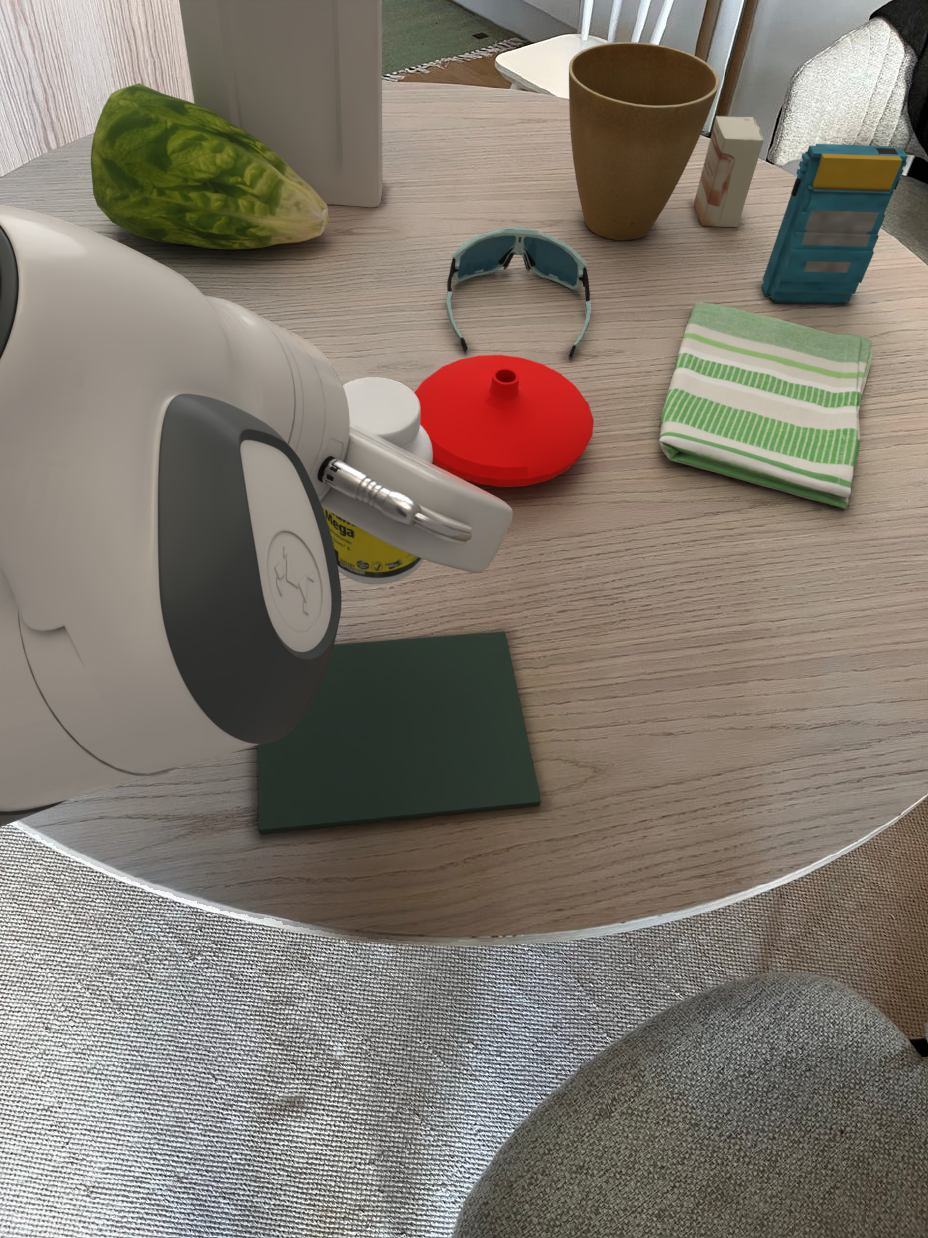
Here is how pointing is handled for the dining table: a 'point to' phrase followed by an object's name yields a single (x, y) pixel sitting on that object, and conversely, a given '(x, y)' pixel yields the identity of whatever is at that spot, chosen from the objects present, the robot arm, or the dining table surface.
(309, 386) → the robot arm
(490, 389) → the flat cone with hole
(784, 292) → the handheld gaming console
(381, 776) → the mat
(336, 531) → the pill bottle
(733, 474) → the dish towel
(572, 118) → the plant pot
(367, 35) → the tall white carton
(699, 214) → the small cream box
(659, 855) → the dining table surface
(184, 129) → the lettuce
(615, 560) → the dining table surface
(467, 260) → the sunglasses
